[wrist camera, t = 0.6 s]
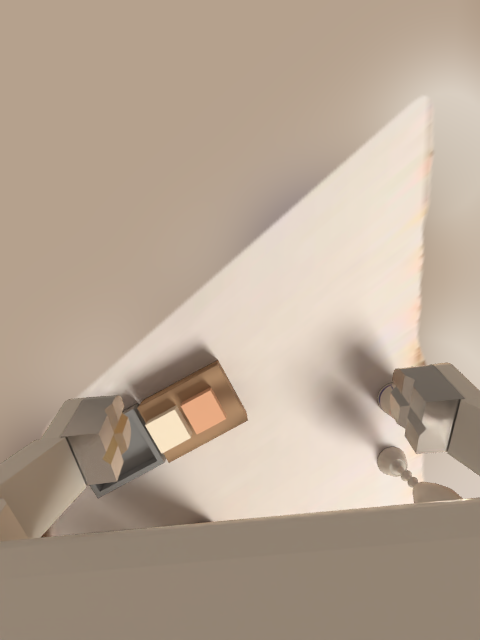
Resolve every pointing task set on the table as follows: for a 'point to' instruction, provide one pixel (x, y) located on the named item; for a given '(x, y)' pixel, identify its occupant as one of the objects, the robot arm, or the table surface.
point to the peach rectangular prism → (203, 410)
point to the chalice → (413, 478)
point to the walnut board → (189, 388)
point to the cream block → (168, 429)
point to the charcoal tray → (134, 454)
